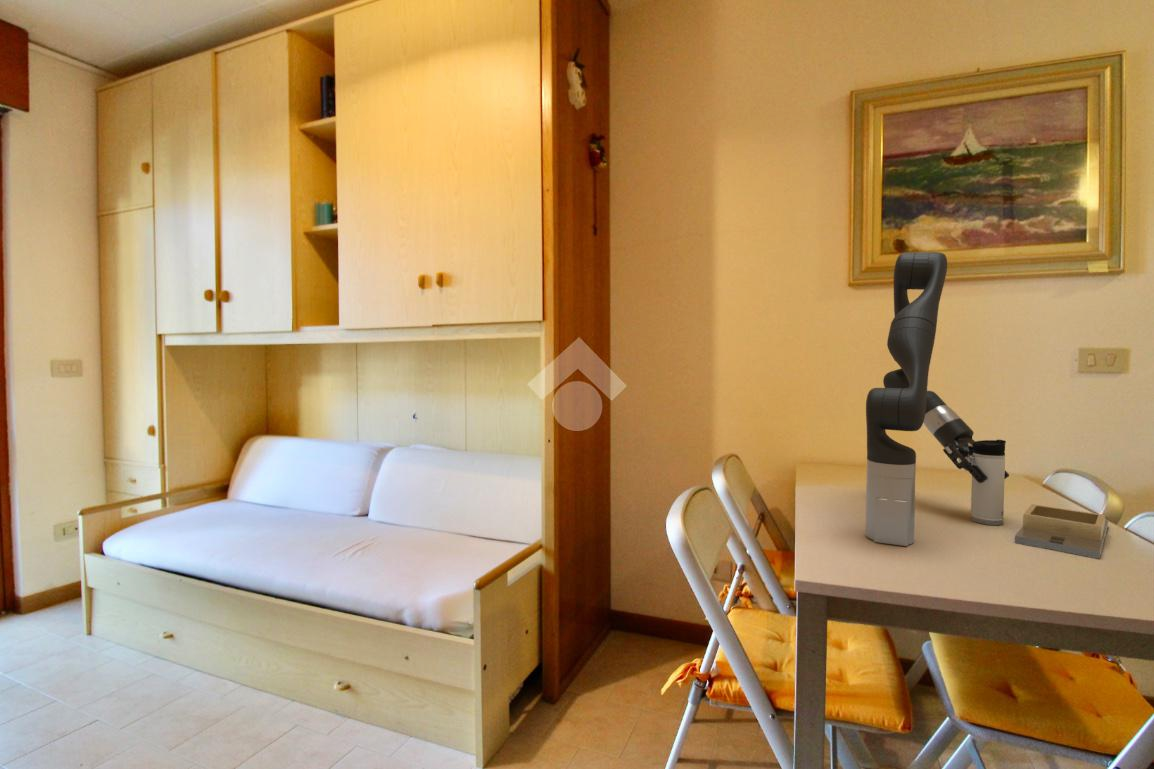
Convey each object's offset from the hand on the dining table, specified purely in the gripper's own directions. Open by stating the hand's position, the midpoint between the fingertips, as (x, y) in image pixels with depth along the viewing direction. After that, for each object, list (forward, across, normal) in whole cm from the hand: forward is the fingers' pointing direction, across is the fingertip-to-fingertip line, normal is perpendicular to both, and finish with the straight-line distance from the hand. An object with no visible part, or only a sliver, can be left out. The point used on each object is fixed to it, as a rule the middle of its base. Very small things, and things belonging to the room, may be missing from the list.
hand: (994, 479), depth 126 cm
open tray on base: (+15, +5, 0) cm, 16 cm away
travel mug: (+7, 0, +9) cm, 11 cm away
